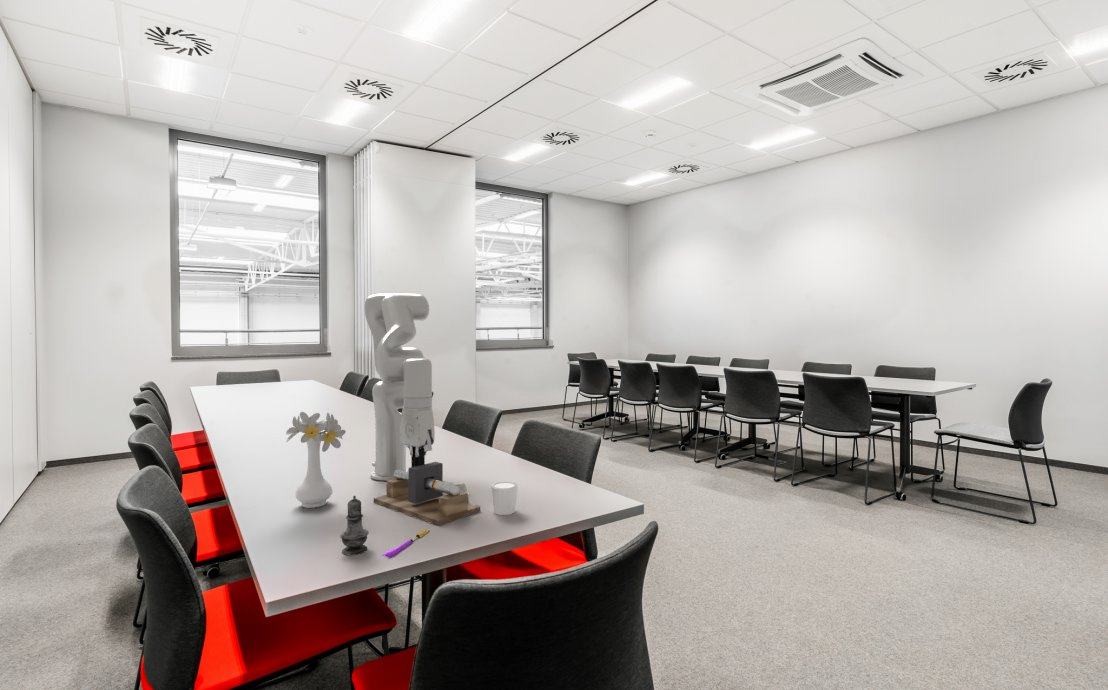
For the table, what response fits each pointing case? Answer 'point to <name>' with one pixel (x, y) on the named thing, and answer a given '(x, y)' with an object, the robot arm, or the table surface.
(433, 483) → the pipe
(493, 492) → the shot glass
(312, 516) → the table surface
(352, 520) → the salt shaker
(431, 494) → the collar
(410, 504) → the pipe stand
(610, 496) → the table surface
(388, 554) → the purple and yellow tool
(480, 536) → the table surface
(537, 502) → the table surface
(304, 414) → the flower vase
